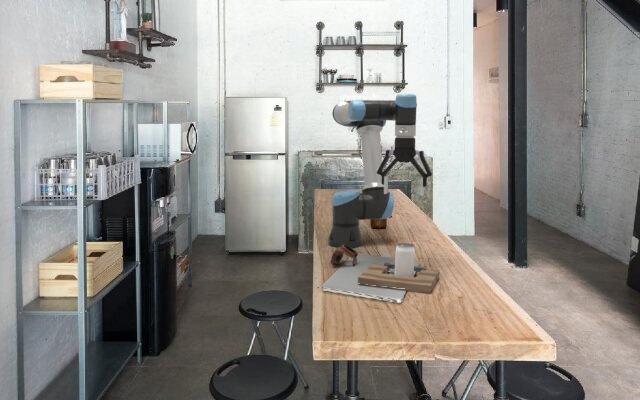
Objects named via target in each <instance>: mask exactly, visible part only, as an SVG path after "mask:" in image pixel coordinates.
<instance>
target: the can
mask: <svg viewBox="0 0 640 400" xmlns="http://www.w3.org/2000/svg"><path fill="white" fill-rule="evenodd" d="M415 253H416V252H415V247H414V244H413V243H410V242H409V243H408V242H400V243H397V246H396V248H395V253H394V257H395V258H394V264H395V269H394V275H398V276H407V277H414V273H415V271H414V266H415Z"/></svg>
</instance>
